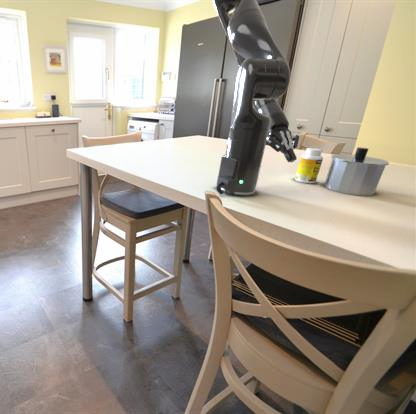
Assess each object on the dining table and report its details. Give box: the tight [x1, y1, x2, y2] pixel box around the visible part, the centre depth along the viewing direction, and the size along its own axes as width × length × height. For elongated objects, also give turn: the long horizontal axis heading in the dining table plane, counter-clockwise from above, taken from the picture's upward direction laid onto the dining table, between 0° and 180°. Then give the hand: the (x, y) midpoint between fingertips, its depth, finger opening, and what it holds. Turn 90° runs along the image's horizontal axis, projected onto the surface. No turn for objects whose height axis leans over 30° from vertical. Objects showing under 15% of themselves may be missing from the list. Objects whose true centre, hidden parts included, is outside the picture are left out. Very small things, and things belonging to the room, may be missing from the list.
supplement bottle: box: [294, 147, 324, 184], centre depth 88 cm, size 6×6×10 cm
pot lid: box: [331, 146, 390, 167], centre depth 79 cm, size 12×12×4 cm
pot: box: [324, 158, 386, 197], centre depth 82 cm, size 11×11×8 cm
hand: (292, 160), depth 93 cm, fingers closed
